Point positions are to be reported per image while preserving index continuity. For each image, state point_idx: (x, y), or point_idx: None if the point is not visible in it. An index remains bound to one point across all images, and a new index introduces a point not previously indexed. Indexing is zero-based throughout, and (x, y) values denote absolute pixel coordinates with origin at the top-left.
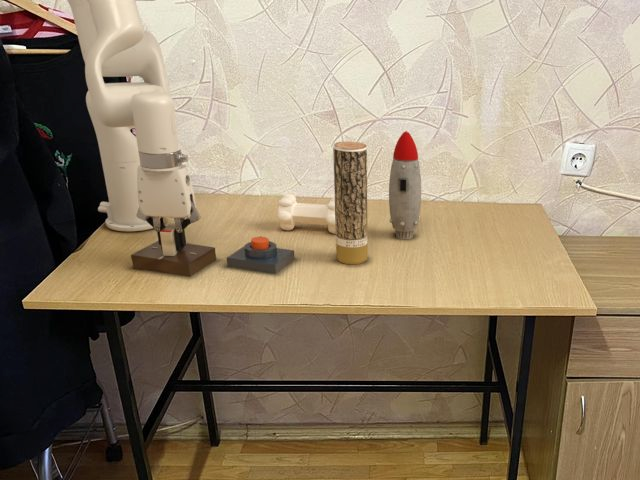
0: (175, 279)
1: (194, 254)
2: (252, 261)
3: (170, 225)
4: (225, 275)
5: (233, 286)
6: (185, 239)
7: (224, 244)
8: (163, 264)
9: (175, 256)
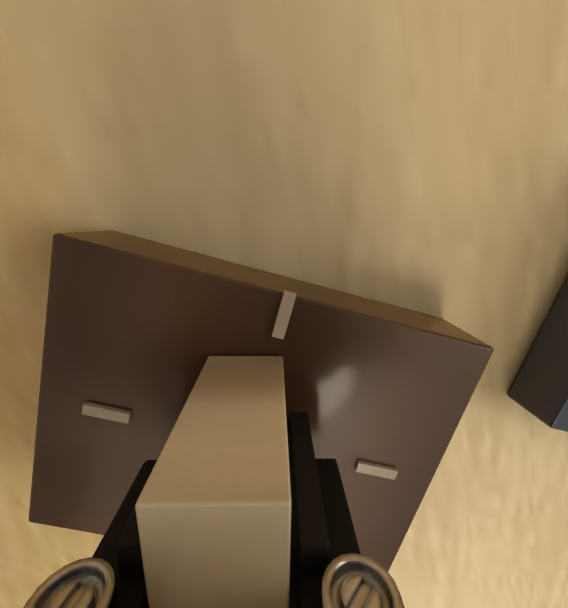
0: None
1: (387, 476)
2: None
3: (189, 593)
4: (502, 476)
5: (540, 562)
6: (341, 484)
7: (455, 13)
8: None
9: None
